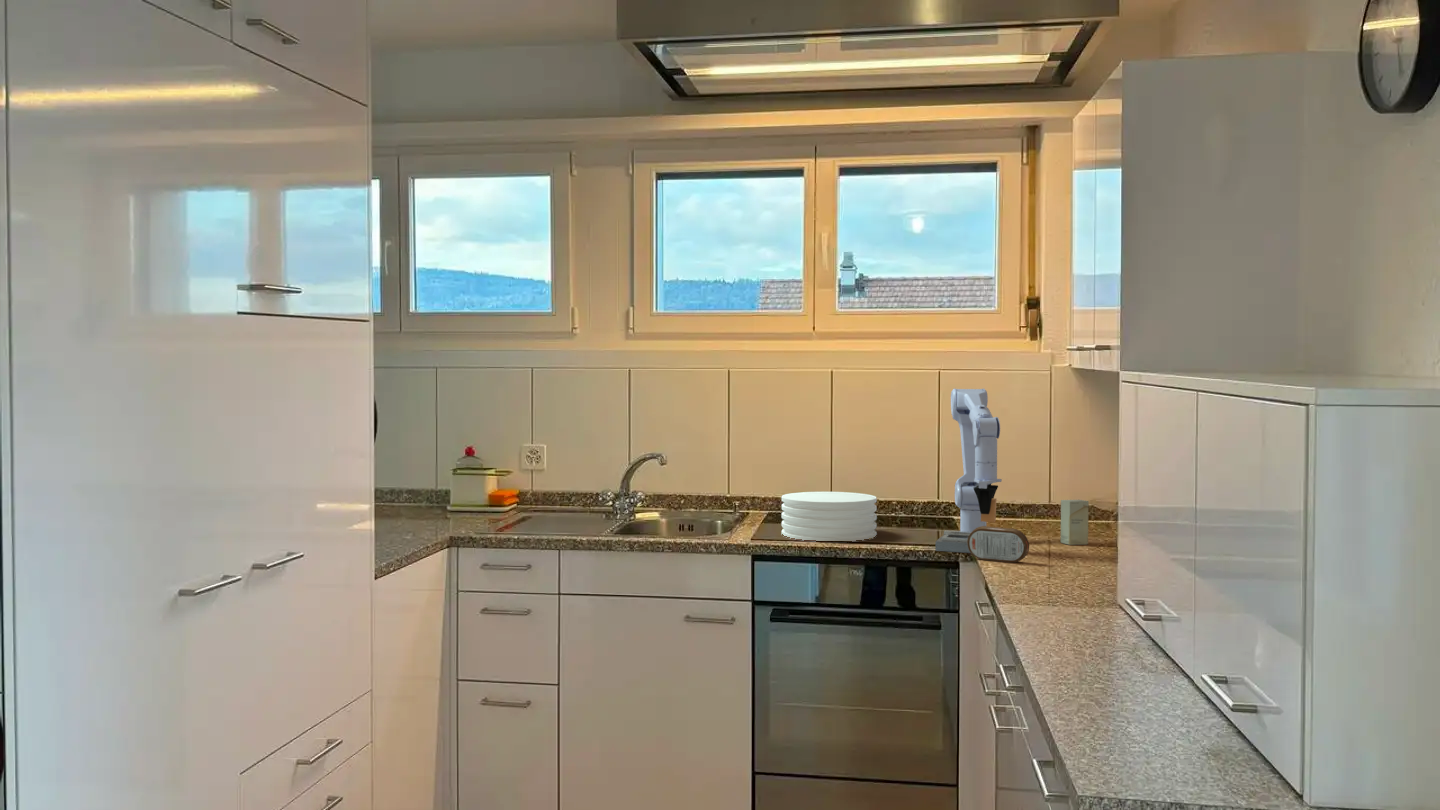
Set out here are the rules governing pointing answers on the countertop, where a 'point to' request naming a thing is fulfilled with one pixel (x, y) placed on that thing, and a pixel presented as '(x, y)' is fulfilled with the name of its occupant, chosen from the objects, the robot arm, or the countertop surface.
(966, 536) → the nested square metal frame
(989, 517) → the tan cardboard-like brick
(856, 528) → the plate stack
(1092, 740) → the countertop surface
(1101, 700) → the countertop surface
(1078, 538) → the skincare box
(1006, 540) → the tin
